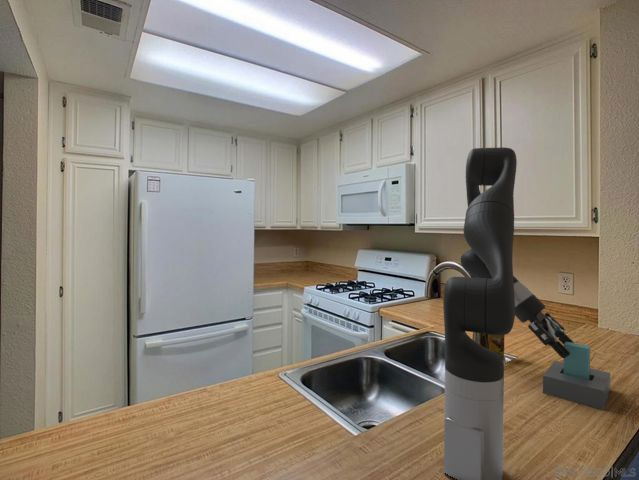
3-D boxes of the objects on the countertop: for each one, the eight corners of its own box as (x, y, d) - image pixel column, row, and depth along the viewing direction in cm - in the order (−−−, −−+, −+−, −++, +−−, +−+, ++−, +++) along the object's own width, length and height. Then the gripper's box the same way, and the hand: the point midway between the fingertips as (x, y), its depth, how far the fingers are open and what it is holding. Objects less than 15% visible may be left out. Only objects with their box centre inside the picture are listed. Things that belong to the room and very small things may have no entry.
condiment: (505, 363, 106) (505, 325, 106) (475, 358, 110) (475, 321, 110) (505, 355, 112) (506, 319, 112) (477, 351, 116) (477, 316, 116)
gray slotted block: (604, 410, 78) (604, 391, 78) (542, 392, 86) (543, 375, 86) (610, 390, 88) (610, 372, 88) (554, 376, 96) (554, 360, 96)
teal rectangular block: (587, 396, 84) (588, 348, 84) (563, 390, 88) (563, 344, 88) (589, 392, 86) (590, 346, 86) (565, 386, 90) (566, 341, 90)
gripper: (524, 296, 89) (578, 351, 81) (538, 290, 99) (587, 338, 91) (502, 313, 93) (551, 367, 85) (517, 305, 103) (563, 352, 95)
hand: (570, 352), depth 88 cm, fingers open, 8 cm apart
